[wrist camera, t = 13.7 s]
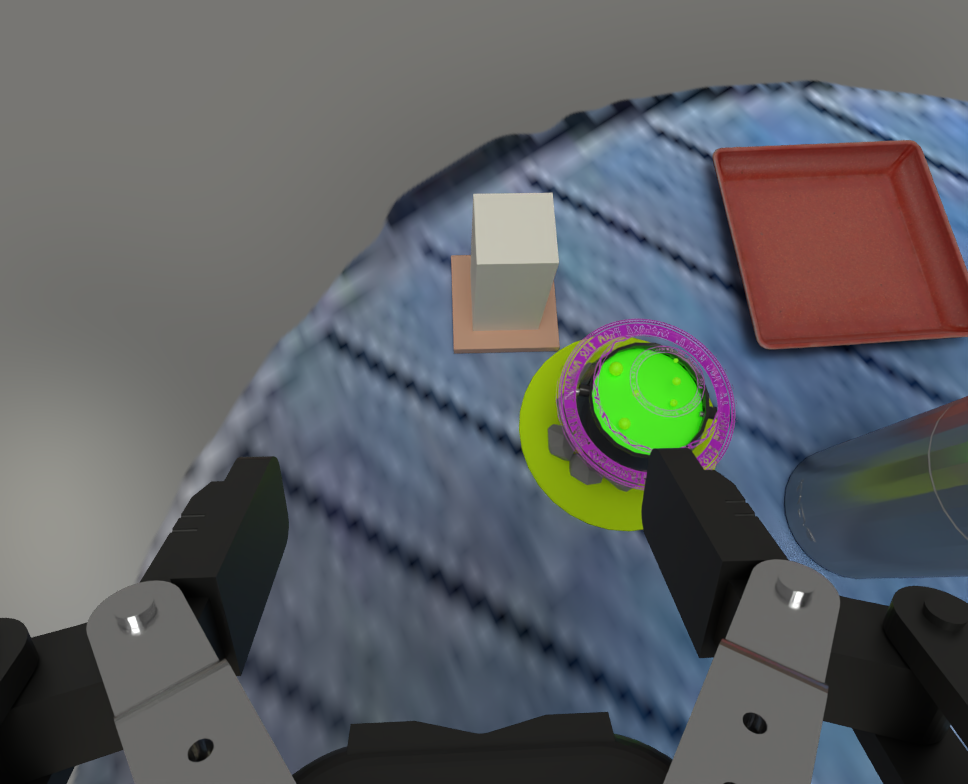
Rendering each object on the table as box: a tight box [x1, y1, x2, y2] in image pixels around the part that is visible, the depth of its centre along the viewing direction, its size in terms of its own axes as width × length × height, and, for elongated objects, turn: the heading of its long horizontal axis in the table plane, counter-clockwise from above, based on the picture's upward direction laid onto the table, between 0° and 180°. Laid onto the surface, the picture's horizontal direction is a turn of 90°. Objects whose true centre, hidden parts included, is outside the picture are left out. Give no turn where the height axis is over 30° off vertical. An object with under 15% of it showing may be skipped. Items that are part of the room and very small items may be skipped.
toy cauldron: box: [519, 319, 737, 531], centre depth 40 cm, size 15×15×11 cm
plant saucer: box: [713, 140, 968, 349], centre depth 49 cm, size 18×18×3 cm
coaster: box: [451, 255, 559, 353], centre depth 48 cm, size 8×8×1 cm
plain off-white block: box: [470, 193, 559, 331], centre depth 42 cm, size 5×5×10 cm
